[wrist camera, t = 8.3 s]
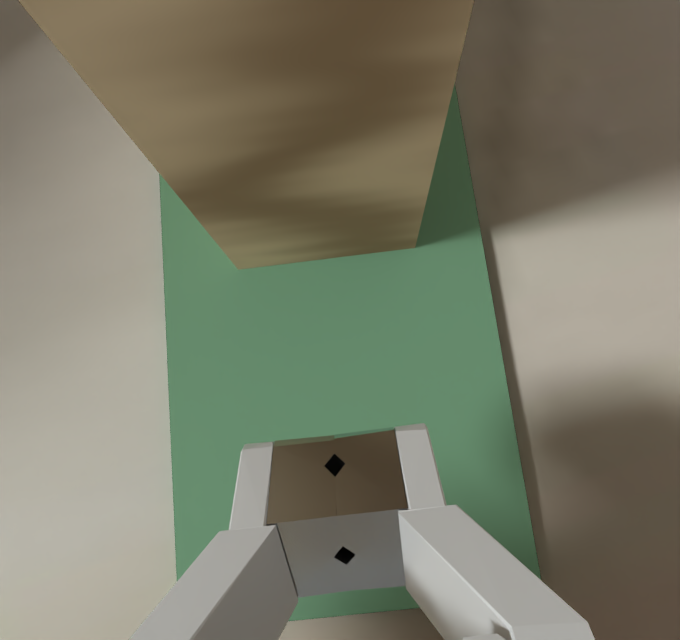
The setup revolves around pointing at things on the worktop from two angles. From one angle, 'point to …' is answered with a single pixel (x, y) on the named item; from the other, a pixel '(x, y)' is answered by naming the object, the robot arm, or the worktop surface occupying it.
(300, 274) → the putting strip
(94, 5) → the mallet block
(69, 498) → the worktop surface
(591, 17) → the worktop surface
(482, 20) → the worktop surface
